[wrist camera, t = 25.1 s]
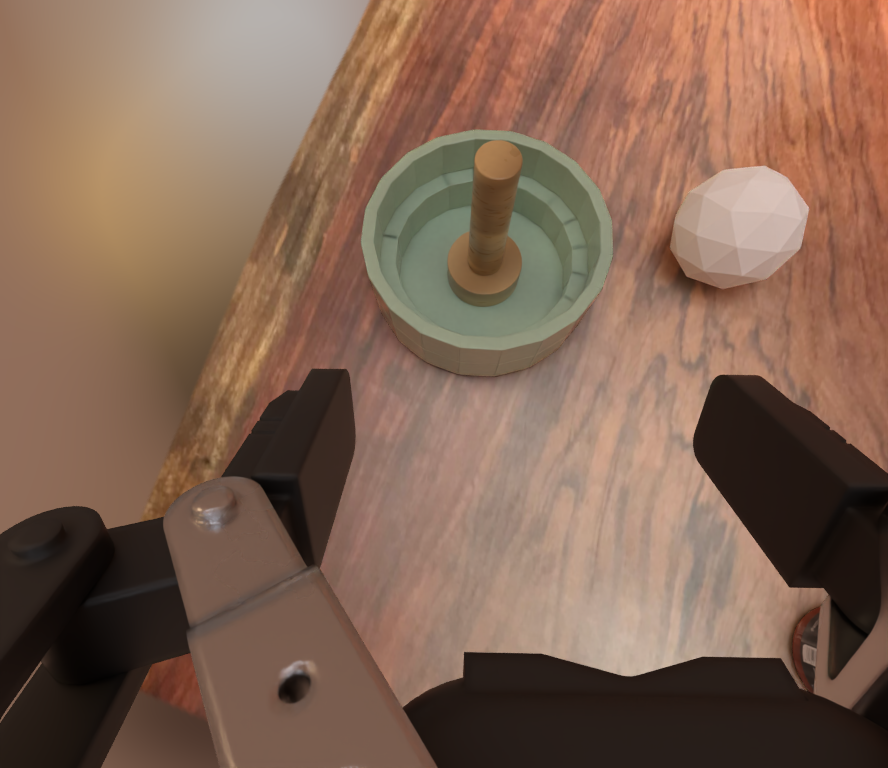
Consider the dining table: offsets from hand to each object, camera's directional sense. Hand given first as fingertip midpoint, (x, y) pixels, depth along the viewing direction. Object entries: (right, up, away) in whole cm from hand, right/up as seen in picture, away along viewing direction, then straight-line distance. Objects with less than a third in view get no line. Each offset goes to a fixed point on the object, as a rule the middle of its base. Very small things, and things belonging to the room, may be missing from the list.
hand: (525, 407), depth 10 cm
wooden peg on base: (+1, +9, +23) cm, 25 cm away
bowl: (+1, +8, +24) cm, 26 cm away
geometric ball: (+18, +10, +24) cm, 32 cm away
